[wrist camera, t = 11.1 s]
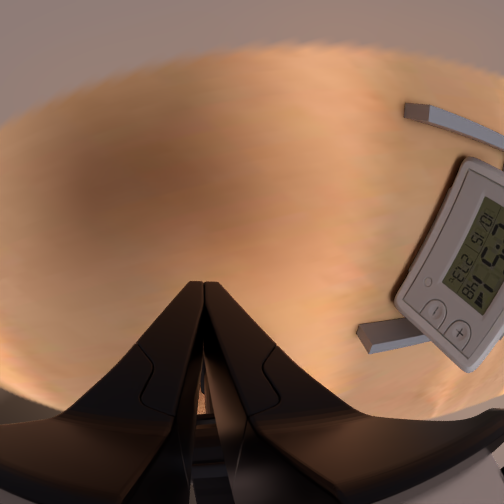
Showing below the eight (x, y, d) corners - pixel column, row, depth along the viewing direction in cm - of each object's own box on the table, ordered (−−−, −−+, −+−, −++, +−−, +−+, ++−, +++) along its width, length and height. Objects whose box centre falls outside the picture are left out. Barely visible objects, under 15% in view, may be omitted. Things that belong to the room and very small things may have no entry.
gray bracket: (470, 312, 30) (492, 335, 26) (356, 333, 28) (377, 369, 23) (519, 148, 21) (552, 160, 16) (405, 102, 18) (449, 107, 14)
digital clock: (464, 143, 20) (558, 179, 11) (498, 198, 23) (570, 240, 14) (366, 288, 25) (430, 373, 16) (416, 317, 28) (470, 385, 19)
